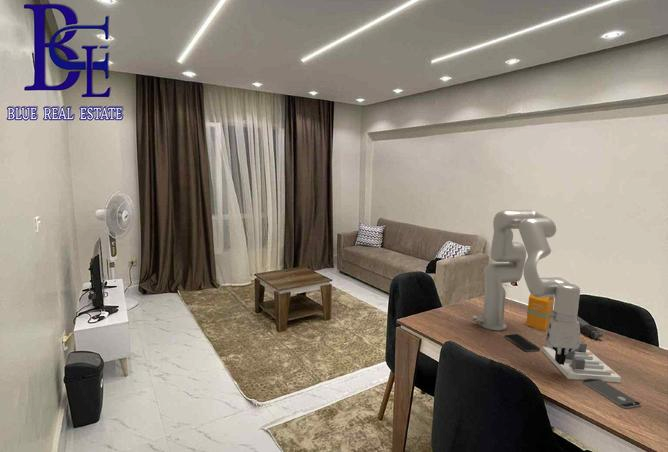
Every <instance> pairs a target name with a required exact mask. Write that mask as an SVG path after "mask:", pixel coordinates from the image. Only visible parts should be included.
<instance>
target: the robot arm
mask: <svg viewBox="0 0 668 452" xmlns="http://www.w3.org/2000/svg"><path fill="white" fill-rule="evenodd" d="M492 223H493V224H492V225H493V235H492V242H491V248H490V258H491V260H492V261H494V263H489V264H487V265H486V266H485V267H484V269H483V278H484V297H483V308H482V309H483V310H482V313H481V314H480V315H479V316H476V315H473V316H472V320H473V321H476V322H478V324H479V325H480V327H482V328H484V329H487V330H490V331H496V332H497V331H505V330H506V329H507V325H508V324H507V323H505V322H504V319H505V307H506V298H507V297H506V295H507V293H506V289H505V287H504V285H503V284H509V283H512V284H513V283H517V282H520V281H521V280H522V277H524V281H525V283H526V284H525V285H526V286H527V288H528V289H527V290H528V291H529V293H530V294H532V295H533V296H535V297H538V298H544V297H554V305H553V313H549V315H550V316H552V318H551V319H550V322H549V325H548V329H547V330H546V336H545V340H546V343H545V347H548V348H551V349H554V350H555V351H556V353H555V360H556V362H557V363H558V364H559V365H561V364H562V365H564V362H565V360H566V355H567V354H568V352H570V351H571V350H576V349H578V348H579V346H580V341H581V330H580V325H579V322H578V321H577V315H578V312H579V304H580V295H581V287H579V285H576V284H574V283H572V282H571V283H570V282H569V281H567V280H566V279H564V278H562V277H554V276H553V277H540V275H539V273H538V269H537V266H538V265H537V264H538V262H539V261H540V260H542V259H544V258H546V257H548V256H549V255H550V254H551V252H552V249H551V247H550V244H549V242H548V238H552V237H554V236H555V235H556V232H557V226H556V223H555V222H554V221H553V220H552V219H551V218H550V217H549V216H547V215H544V214H542V213H539V212H537V211H535V210H528V209H527V210H525V209H523V210H522V209H521V210H520V209H519V210H517V209H509V210H500V211H498V212H497V213H496V214H495V215H494V217H493V222H492ZM513 230H518V231H519V235H520V237H521V241H522V242H523V243H521V242H519V241H513V240H514V233H513ZM526 257H527V258H526Z"/></svg>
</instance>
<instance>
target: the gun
mask: <svg viewBox="0 0 668 452" xmlns="http://www.w3.org/2000/svg"><path fill="white" fill-rule="evenodd" d="M577 321H578V322H579V325H580V332H582V333H583V334H584V335H586V336H587V337H590V338H591V339H593V340H600V338H603V336H604V333H603V332H601V331H600V330H599V329H598V328H597V327H595V326H593V325H592V324H589V322H588V321H585V320H584V319H583V318H581V317H579V315H578V314H577Z"/></svg>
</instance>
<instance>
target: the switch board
mask: <svg viewBox="0 0 668 452" xmlns="http://www.w3.org/2000/svg"><path fill="white" fill-rule="evenodd" d="M541 349H542V351H541V352H543V354H544V355H545V356H546V357H547V358H548V359H549V360H550V361H551V363H553V364H554V366H555V367H556V368H557V369H558V370H559V371H560V372H561V373H562V374H563V375H564V377H565V378H566V379H567V380H577V381H582V380H586V379H598V380H602V381H604V382H605V383H607V382H608V383H619V384H620V383H621V382H622V376H621V375H619V374H618V373H616V372H615V370H614V369H612V368H610V367H609V366H608V365H607V363H605V362H604V361H602V360H601V359H600V358H598V356H596V355H595V354H594V353H593V352H592V351H591V350H589V349H586V352H575V357H582V358H583V359H584V360H585V367H584V369H575V370H574V369H573V368H572V360H569V359H566V360H565V362H564V365H562V364H561V365H559V364H558V363H557V362H556V360H555V353H556V351H555V350H554V349H551V348H548V347H547V346H542V348H541Z"/></svg>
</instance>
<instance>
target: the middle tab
mask: <svg viewBox="0 0 668 452" xmlns="http://www.w3.org/2000/svg"><path fill="white" fill-rule="evenodd" d="M573 357H575V351H574V350H571V351H570V352H568V354H567V355H566V359H569V360H573Z"/></svg>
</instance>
